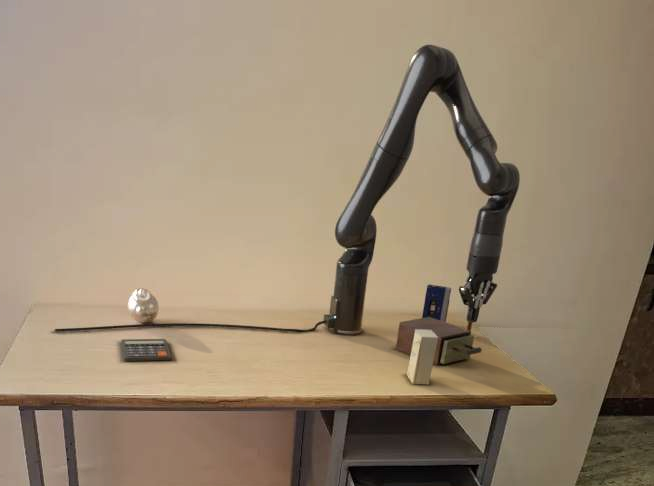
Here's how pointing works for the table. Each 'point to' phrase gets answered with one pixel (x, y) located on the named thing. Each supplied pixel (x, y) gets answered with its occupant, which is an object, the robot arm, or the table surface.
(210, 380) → the table surface
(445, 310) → the cassette player
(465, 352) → the drawer
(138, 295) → the silver rounded lump
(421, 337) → the cosmetic box
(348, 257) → the robot arm
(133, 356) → the calculator
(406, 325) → the cabinet
